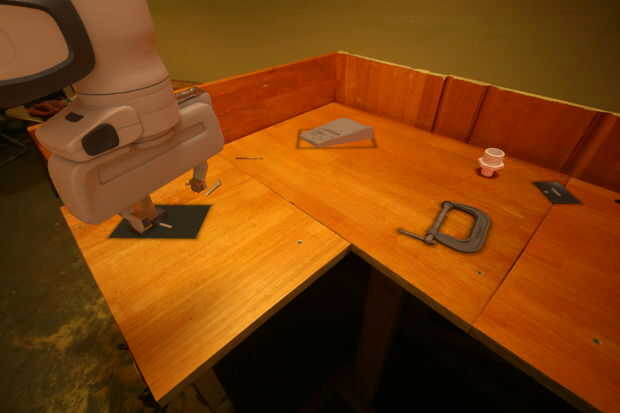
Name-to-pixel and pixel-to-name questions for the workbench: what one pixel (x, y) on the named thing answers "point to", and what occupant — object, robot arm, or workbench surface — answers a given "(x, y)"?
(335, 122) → the ramp
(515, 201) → the workbench surface
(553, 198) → the solid state drive
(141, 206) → the brown wooden block
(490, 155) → the pipe fitting
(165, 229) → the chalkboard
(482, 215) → the c clamp
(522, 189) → the workbench surface
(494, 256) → the workbench surface
